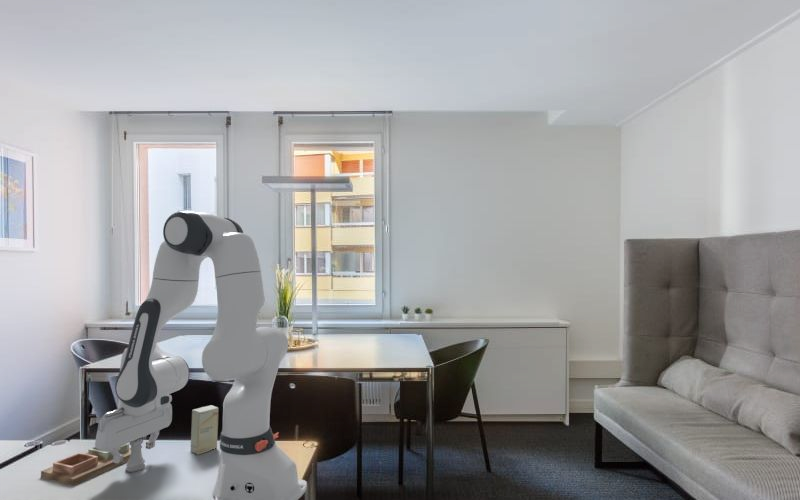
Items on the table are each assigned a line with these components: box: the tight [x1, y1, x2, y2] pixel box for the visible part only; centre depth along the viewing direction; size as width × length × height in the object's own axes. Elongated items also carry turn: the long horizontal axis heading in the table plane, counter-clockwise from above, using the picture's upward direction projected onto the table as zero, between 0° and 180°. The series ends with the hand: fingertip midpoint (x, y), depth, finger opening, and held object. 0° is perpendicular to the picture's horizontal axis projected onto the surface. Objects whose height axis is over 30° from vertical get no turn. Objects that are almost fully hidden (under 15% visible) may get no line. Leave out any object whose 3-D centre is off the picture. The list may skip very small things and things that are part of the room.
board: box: [40, 442, 131, 486], centre depth 117 cm, size 12×18×4 cm, turn 161°
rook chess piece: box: [125, 437, 146, 473], centre depth 116 cm, size 4×4×8 cm
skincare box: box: [190, 404, 219, 455], centre depth 128 cm, size 6×4×12 cm
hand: (134, 454), depth 116 cm, fingers open, 8 cm apart
